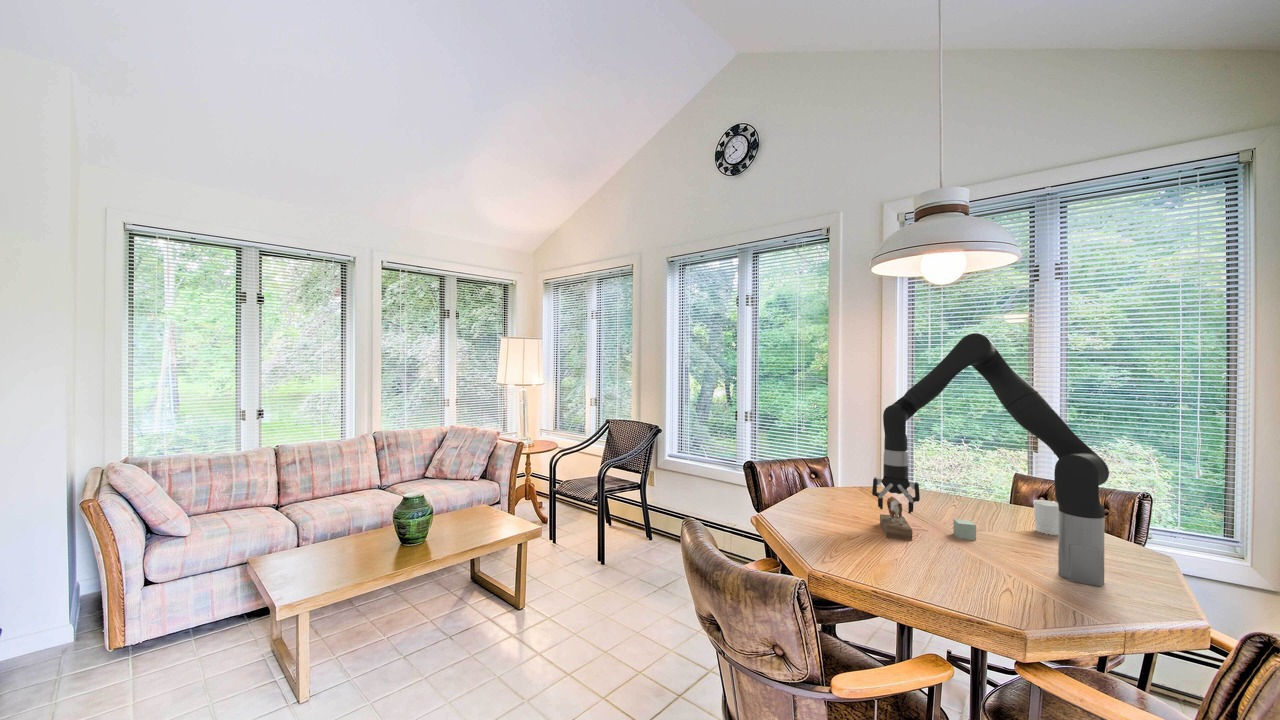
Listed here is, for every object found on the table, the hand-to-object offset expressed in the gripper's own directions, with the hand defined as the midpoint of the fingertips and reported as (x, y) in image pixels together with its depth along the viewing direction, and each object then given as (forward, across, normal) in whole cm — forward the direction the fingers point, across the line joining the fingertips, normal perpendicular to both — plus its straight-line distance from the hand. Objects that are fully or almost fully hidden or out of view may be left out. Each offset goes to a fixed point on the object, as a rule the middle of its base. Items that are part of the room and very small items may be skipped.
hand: (895, 510), depth 168 cm
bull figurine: (+4, 0, 0) cm, 4 cm away
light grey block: (+7, +45, +28) cm, 54 cm away
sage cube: (+7, +20, +7) cm, 22 cm away
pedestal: (+8, 0, 0) cm, 8 cm away
